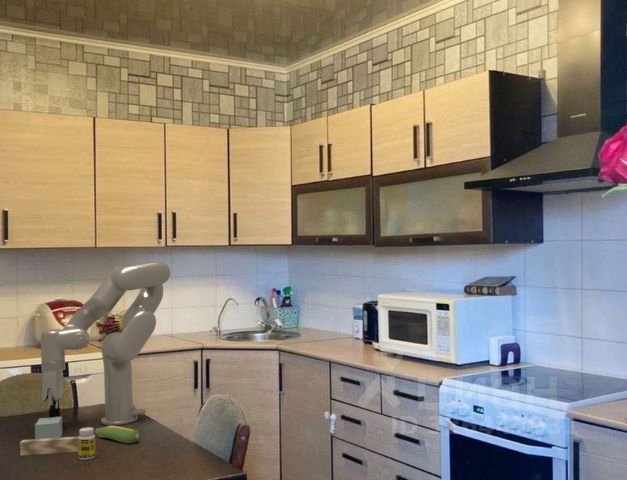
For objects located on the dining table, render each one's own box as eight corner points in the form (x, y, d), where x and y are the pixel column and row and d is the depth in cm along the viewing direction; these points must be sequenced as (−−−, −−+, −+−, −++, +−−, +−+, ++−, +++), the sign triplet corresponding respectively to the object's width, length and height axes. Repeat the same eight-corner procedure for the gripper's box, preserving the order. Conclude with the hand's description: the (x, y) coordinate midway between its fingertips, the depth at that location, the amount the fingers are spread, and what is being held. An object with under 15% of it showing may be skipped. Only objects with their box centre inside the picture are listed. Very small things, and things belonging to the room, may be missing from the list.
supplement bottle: (79, 461, 198) (79, 432, 198) (77, 457, 202) (76, 428, 202) (96, 458, 200) (96, 429, 200) (94, 454, 204) (93, 426, 204)
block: (62, 434, 229) (61, 416, 229) (58, 441, 220) (57, 423, 220) (40, 436, 228) (39, 418, 228) (35, 443, 219) (34, 424, 219)
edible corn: (130, 446, 212) (130, 432, 212) (91, 438, 223) (90, 424, 223) (144, 442, 216) (143, 428, 216) (104, 434, 227) (104, 420, 228)
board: (90, 448, 210) (90, 435, 210) (88, 451, 208) (88, 438, 208) (23, 453, 208) (22, 440, 208) (20, 455, 205) (20, 442, 205)
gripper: (48, 362, 239) (49, 415, 239) (35, 370, 224) (36, 426, 224) (70, 361, 240) (71, 414, 239) (58, 369, 225) (60, 424, 225)
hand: (54, 419), depth 232 cm, fingers closed
